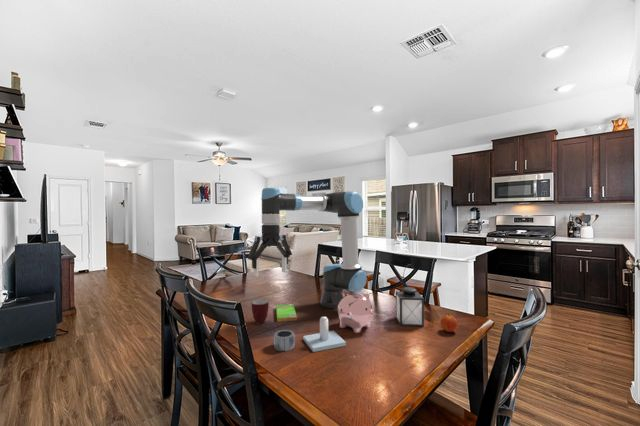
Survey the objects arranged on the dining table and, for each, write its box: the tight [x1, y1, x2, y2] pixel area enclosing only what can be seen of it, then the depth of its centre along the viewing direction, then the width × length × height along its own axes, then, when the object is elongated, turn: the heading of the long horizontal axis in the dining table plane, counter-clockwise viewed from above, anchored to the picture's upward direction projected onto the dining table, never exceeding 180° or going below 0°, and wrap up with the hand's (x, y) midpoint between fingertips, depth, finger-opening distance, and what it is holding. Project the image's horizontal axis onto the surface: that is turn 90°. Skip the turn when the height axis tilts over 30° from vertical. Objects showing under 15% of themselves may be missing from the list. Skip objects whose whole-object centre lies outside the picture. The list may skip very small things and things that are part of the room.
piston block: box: [302, 316, 347, 353], centre depth 121 cm, size 14×12×10 cm
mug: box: [251, 299, 269, 325], centre depth 142 cm, size 11×8×10 cm
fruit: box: [440, 313, 458, 333], centre depth 131 cm, size 7×7×8 cm
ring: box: [273, 329, 296, 352], centre depth 118 cm, size 8×8×5 cm
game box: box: [275, 303, 298, 323], centre depth 155 cm, size 3×10×20 cm
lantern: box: [395, 264, 425, 327], centre depth 143 cm, size 11×11×28 cm
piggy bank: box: [337, 292, 375, 334], centre depth 137 cm, size 15×18×16 cm
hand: (270, 274), depth 125 cm, fingers open, 13 cm apart
